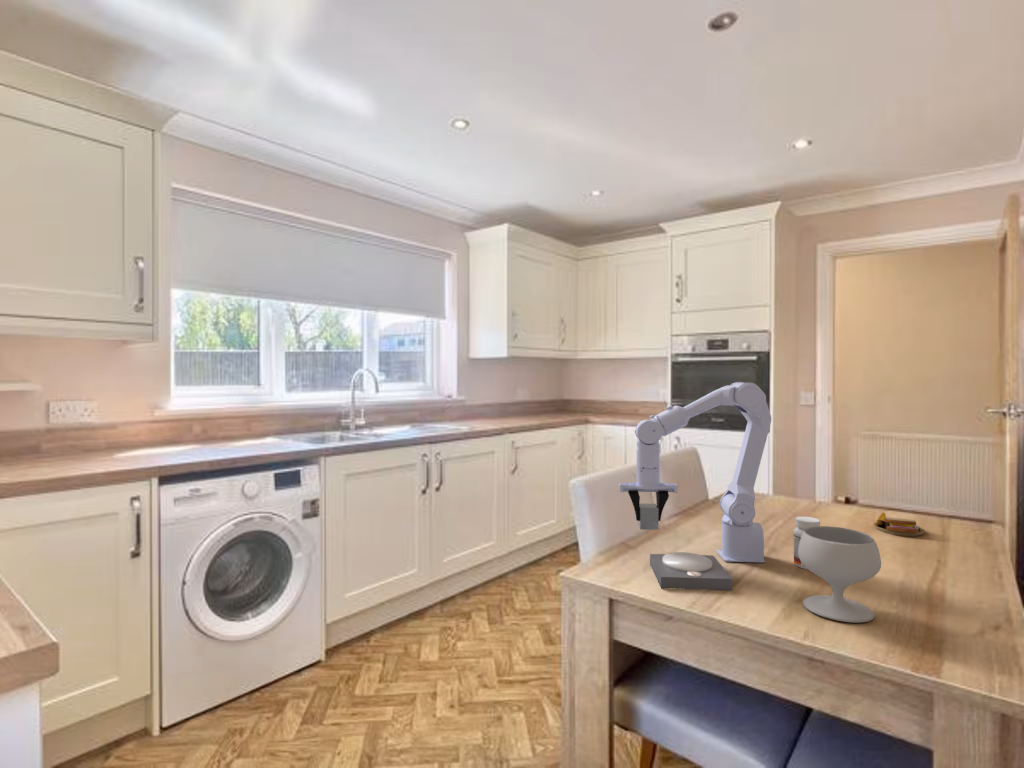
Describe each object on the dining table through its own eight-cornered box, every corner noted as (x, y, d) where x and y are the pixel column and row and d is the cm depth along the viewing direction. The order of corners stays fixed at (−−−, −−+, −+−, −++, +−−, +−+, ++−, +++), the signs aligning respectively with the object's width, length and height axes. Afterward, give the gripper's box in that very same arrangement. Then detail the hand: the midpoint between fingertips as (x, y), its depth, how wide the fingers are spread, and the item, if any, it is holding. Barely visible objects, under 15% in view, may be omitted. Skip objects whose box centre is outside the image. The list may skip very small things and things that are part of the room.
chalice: (785, 595, 115) (785, 524, 115) (853, 596, 115) (853, 524, 115) (820, 626, 101) (820, 545, 101) (898, 627, 101) (898, 546, 101)
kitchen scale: (713, 565, 133) (713, 552, 133) (732, 590, 118) (732, 575, 118) (649, 564, 134) (649, 550, 134) (660, 588, 120) (660, 573, 119)
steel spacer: (655, 524, 143) (655, 503, 143) (658, 529, 139) (658, 508, 139) (637, 524, 144) (637, 503, 144) (640, 529, 139) (640, 507, 139)
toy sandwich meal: (928, 530, 161) (928, 514, 161) (921, 541, 152) (921, 524, 151) (877, 522, 170) (877, 507, 170) (868, 532, 160) (868, 516, 160)
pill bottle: (827, 567, 132) (828, 520, 131) (813, 572, 128) (814, 524, 128) (802, 559, 137) (802, 514, 137) (788, 564, 133) (788, 518, 133)
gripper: (673, 464, 144) (673, 516, 145) (617, 464, 146) (617, 515, 146) (679, 469, 137) (679, 523, 138) (620, 469, 139) (620, 522, 139)
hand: (648, 519), depth 141 cm, fingers closed on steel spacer, 4 cm apart
